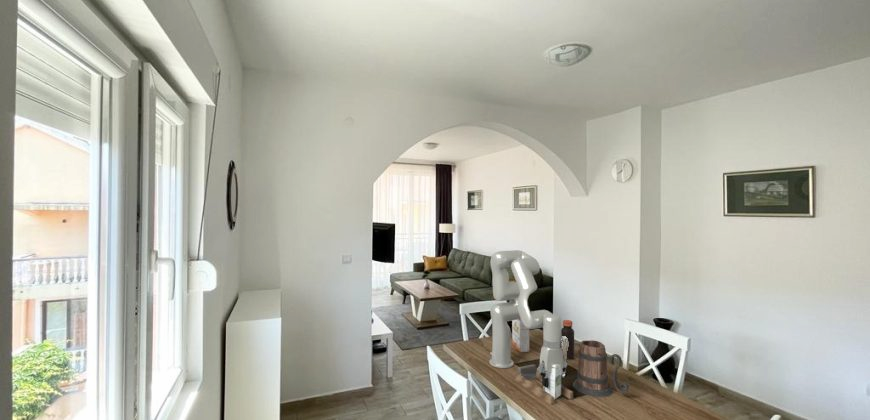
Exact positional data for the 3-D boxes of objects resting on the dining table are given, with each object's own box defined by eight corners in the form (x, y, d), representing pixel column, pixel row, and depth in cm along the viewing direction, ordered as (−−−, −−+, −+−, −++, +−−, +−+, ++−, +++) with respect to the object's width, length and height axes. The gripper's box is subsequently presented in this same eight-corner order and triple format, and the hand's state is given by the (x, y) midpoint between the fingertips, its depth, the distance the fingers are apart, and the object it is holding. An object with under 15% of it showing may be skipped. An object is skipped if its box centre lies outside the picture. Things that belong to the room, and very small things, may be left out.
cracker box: (511, 344, 220) (511, 309, 220) (521, 343, 220) (521, 309, 221) (519, 352, 206) (519, 316, 206) (529, 352, 206) (529, 315, 207)
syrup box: (549, 390, 162) (549, 358, 162) (561, 395, 157) (561, 362, 158) (542, 395, 158) (542, 361, 158) (555, 400, 153) (555, 365, 154)
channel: (515, 380, 172) (515, 367, 172) (535, 375, 176) (535, 363, 177) (551, 404, 150) (551, 390, 150) (573, 398, 155) (573, 384, 155)
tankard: (566, 387, 164) (566, 343, 165) (581, 376, 177) (581, 334, 177) (622, 407, 148) (622, 358, 148) (634, 392, 160) (634, 347, 161)
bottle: (563, 354, 204) (563, 318, 204) (575, 357, 200) (575, 320, 200) (559, 357, 199) (559, 321, 199) (571, 361, 194) (571, 323, 195)
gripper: (561, 338, 165) (561, 377, 165) (530, 343, 158) (530, 384, 157) (573, 343, 158) (573, 384, 158) (542, 349, 151) (542, 392, 151)
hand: (552, 384), depth 158 cm, fingers closed on syrup box, 7 cm apart
